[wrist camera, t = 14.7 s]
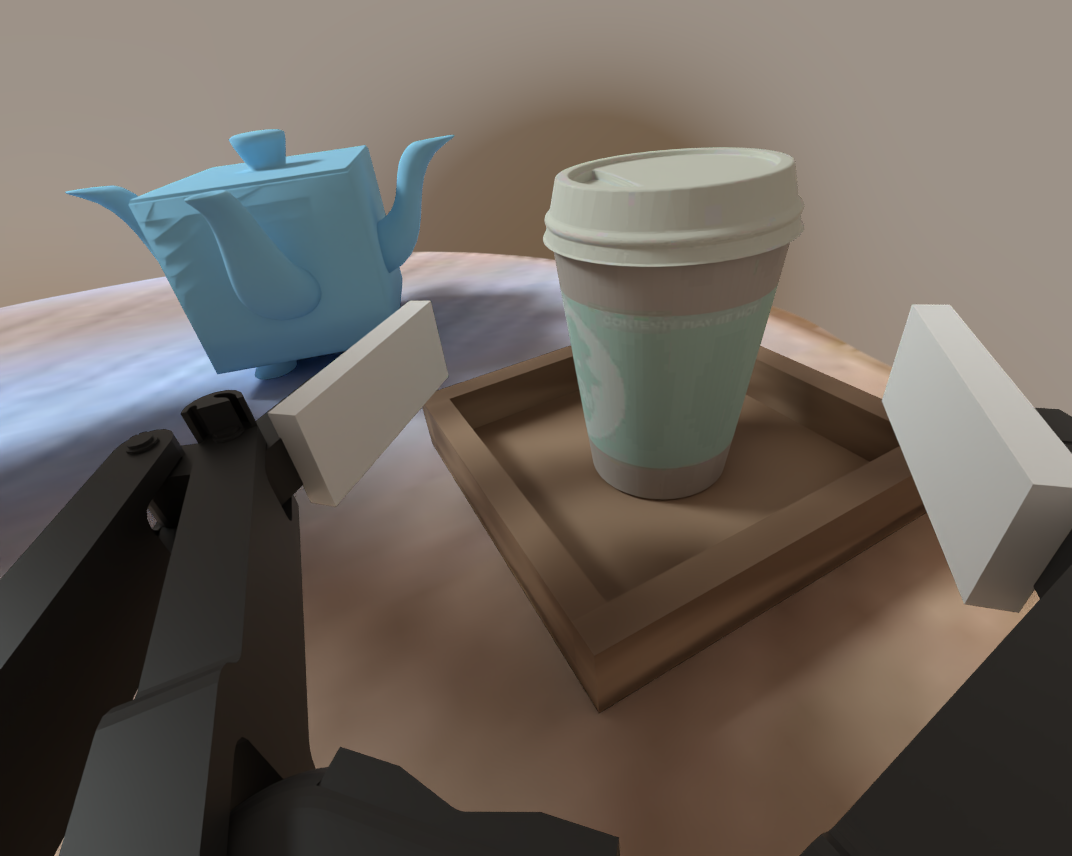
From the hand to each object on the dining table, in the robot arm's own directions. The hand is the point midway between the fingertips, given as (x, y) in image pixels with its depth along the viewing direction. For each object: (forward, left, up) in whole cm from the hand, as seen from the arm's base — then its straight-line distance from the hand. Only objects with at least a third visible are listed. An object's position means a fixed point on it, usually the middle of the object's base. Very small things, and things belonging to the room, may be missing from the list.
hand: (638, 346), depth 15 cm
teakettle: (-30, -7, -9) cm, 32 cm away
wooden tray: (-4, +4, -9) cm, 10 cm away
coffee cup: (-4, +4, -8) cm, 10 cm away
